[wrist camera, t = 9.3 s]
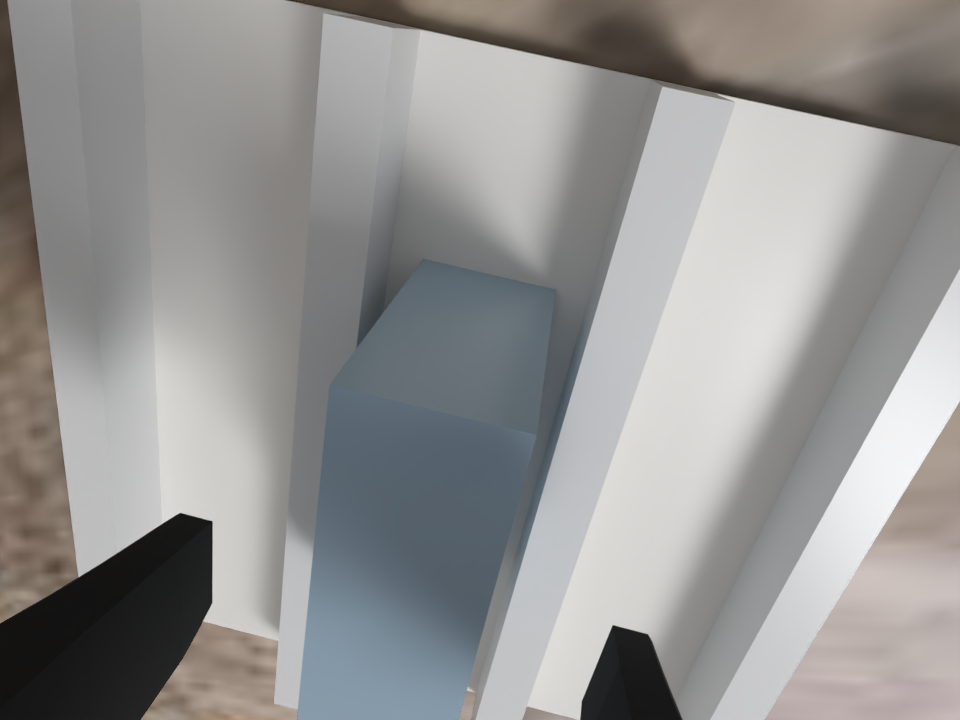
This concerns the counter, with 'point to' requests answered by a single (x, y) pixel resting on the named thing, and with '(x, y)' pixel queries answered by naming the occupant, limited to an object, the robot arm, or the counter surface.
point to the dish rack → (505, 253)
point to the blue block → (421, 493)
